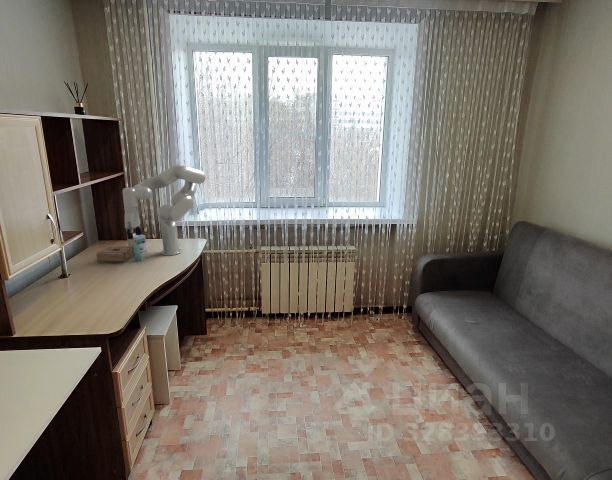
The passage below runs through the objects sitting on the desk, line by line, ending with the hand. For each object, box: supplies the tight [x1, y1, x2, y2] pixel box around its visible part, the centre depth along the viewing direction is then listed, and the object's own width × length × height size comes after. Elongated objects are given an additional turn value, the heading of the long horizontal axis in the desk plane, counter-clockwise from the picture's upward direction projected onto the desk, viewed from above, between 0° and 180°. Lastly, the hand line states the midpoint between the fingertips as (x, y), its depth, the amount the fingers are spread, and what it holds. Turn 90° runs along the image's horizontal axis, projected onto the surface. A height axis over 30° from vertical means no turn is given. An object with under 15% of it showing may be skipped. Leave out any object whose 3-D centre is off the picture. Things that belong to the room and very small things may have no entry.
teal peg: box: [134, 245, 142, 263], centre depth 243 cm, size 3×3×10 cm
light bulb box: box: [126, 232, 148, 254], centre depth 263 cm, size 11×7×11 cm, turn 58°
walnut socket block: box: [95, 245, 135, 264], centre depth 247 cm, size 16×16×6 cm
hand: (134, 236), depth 240 cm, fingers open, 9 cm apart
